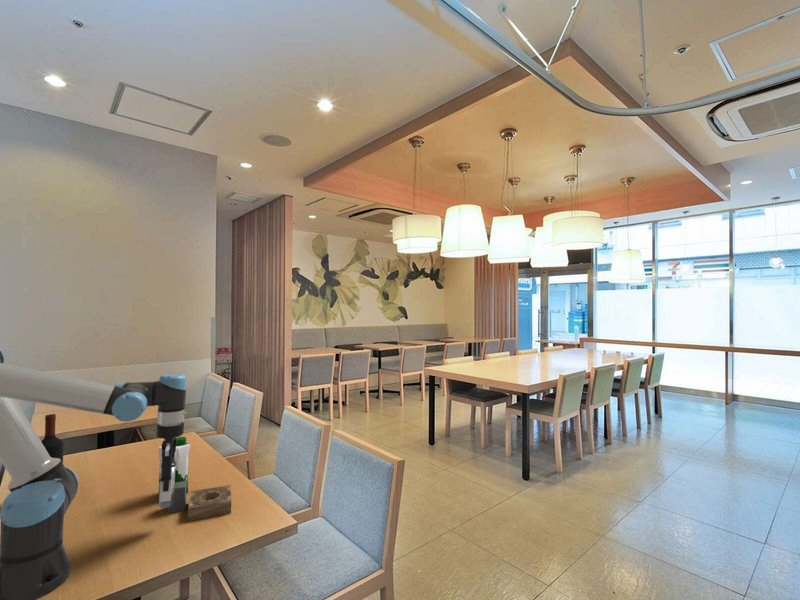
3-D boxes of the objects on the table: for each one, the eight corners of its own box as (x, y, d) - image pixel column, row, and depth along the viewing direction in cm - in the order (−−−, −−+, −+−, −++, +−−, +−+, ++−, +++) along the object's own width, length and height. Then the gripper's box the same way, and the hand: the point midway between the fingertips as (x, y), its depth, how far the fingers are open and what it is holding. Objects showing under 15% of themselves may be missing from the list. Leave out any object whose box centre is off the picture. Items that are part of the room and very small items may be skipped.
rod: (172, 506, 124) (175, 464, 124) (157, 508, 122) (160, 466, 122) (173, 500, 127) (176, 460, 128) (159, 502, 125) (162, 461, 126)
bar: (184, 510, 135) (185, 486, 135) (167, 513, 133) (168, 489, 133) (185, 503, 140) (186, 480, 140) (169, 506, 138) (170, 483, 138)
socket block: (231, 512, 134) (231, 501, 134) (187, 520, 128) (188, 508, 128) (230, 495, 146) (230, 484, 146) (190, 502, 140) (190, 491, 140)
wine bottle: (45, 505, 137) (47, 418, 137) (27, 502, 138) (30, 417, 139) (67, 495, 144) (69, 413, 144) (51, 492, 146) (53, 411, 146)
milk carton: (192, 491, 148) (193, 438, 148) (168, 502, 140) (169, 446, 140) (177, 486, 152) (178, 434, 153) (153, 496, 144) (155, 441, 144)
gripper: (181, 429, 119) (177, 507, 118) (186, 415, 135) (182, 484, 134) (152, 432, 116) (147, 512, 115) (160, 416, 131) (156, 487, 131)
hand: (166, 497), depth 125 cm, fingers closed on rod, 4 cm apart
